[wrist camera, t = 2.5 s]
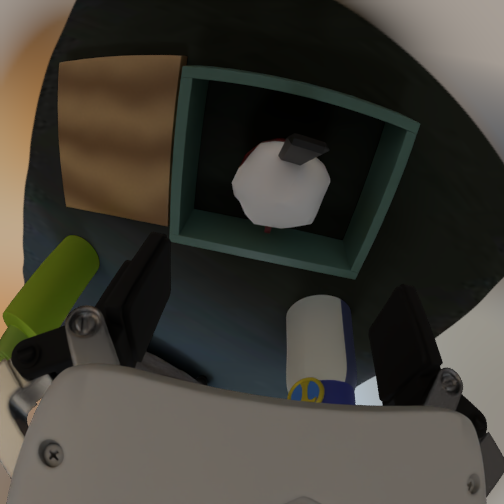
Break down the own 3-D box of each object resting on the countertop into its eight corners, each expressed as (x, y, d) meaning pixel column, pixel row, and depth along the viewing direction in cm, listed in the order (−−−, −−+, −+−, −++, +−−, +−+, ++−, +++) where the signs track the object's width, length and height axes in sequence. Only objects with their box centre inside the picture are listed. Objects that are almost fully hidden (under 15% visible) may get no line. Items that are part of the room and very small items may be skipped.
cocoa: (280, 222, 26) (274, 328, 16) (221, 183, 24) (176, 275, 15) (351, 142, 21) (404, 215, 11) (288, 93, 19) (293, 119, 10)
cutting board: (69, 61, 18) (59, 62, 17) (188, 56, 18) (181, 55, 17) (73, 200, 27) (66, 206, 26) (173, 218, 27) (167, 226, 26)
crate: (201, 65, 18) (182, 65, 15) (397, 112, 19) (420, 123, 15) (185, 214, 27) (169, 241, 23) (347, 248, 27) (355, 279, 23)
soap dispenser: (61, 221, 29) (-44, 350, 13) (105, 254, 31) (14, 400, 15) (53, 251, 32) (-32, 369, 16) (93, 280, 34) (19, 410, 18)
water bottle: (266, 311, 33) (238, 540, 13) (333, 281, 29) (347, 545, 9) (302, 346, 36) (293, 538, 16) (362, 323, 33) (380, 532, 13)
